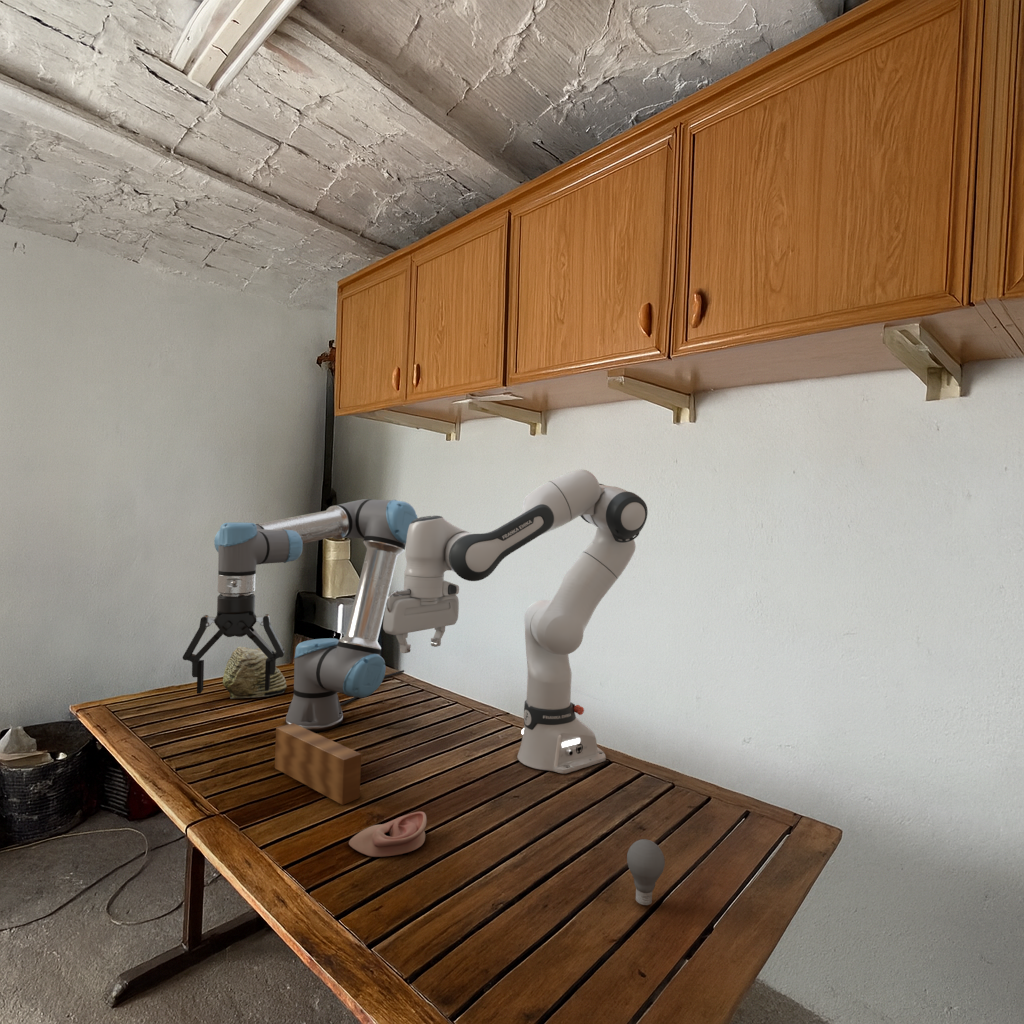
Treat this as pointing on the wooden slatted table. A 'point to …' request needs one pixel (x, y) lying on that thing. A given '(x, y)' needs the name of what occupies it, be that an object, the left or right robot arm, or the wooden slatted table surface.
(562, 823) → the wooden slatted table surface
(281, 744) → the bar
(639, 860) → the light bulb
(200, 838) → the wooden slatted table surface
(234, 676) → the fossil
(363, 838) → the anatomical model
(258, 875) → the wooden slatted table surface
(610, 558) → the right robot arm
